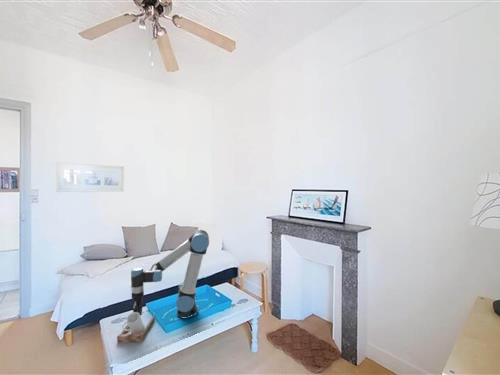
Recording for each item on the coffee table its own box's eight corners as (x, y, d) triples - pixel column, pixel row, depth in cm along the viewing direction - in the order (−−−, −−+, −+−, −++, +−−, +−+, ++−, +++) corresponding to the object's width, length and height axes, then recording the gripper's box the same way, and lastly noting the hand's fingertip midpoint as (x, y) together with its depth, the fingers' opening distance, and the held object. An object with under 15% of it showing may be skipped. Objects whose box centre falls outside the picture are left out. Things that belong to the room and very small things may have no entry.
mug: (125, 340, 162) (120, 327, 157) (125, 329, 169) (120, 316, 164) (145, 332, 166) (140, 319, 161) (144, 321, 173) (139, 309, 168)
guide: (154, 320, 182) (154, 314, 182) (142, 341, 158) (141, 335, 158) (133, 321, 181) (133, 315, 181) (117, 342, 157) (117, 336, 157)
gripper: (135, 287, 178) (136, 320, 179) (127, 296, 165) (128, 331, 166) (146, 287, 178) (147, 319, 179) (139, 295, 165) (140, 331, 166)
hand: (138, 325), depth 172 cm, fingers closed
